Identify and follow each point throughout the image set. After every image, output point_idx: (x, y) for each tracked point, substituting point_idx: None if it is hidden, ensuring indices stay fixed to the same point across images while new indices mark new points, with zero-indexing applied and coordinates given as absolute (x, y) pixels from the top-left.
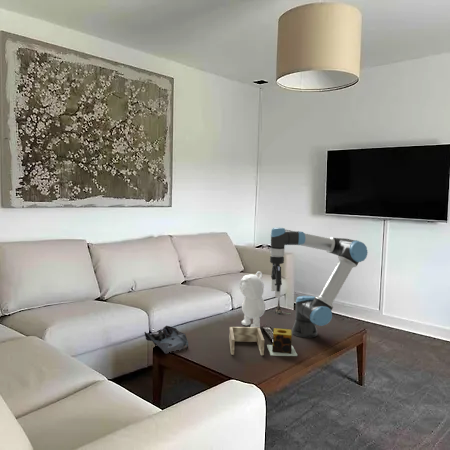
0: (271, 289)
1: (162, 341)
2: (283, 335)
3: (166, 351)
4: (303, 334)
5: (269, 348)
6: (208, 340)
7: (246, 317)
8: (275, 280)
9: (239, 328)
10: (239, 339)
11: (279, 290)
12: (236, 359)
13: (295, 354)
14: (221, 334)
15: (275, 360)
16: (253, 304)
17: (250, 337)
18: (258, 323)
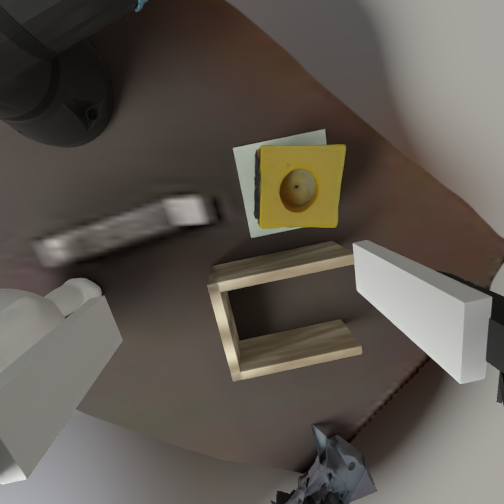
0: (112, 352)
1: (344, 488)
2: (339, 182)
3: (361, 457)
4: (107, 92)
5: (283, 227)
6: (247, 396)
7: None
8: (4, 415)
9: (234, 349)
10: (234, 325)
11: (453, 278)
12: (371, 308)
13: (321, 136)
14: (186, 377)
15: (368, 203)
16: None
17: (226, 297)
18: (76, 289)
